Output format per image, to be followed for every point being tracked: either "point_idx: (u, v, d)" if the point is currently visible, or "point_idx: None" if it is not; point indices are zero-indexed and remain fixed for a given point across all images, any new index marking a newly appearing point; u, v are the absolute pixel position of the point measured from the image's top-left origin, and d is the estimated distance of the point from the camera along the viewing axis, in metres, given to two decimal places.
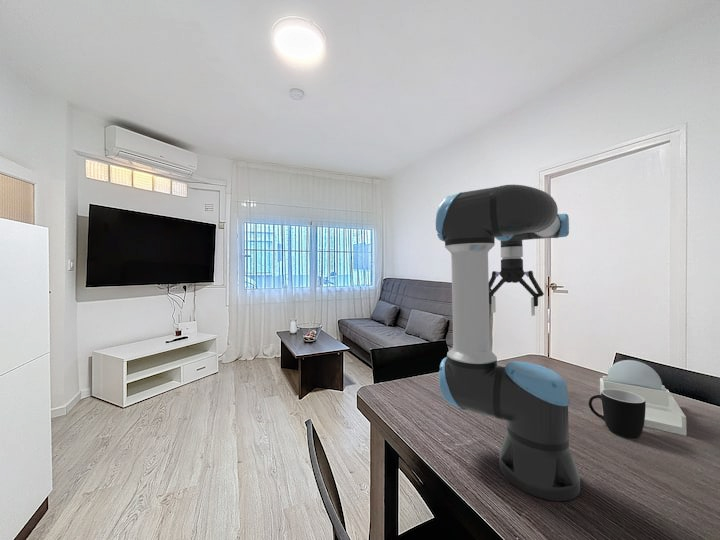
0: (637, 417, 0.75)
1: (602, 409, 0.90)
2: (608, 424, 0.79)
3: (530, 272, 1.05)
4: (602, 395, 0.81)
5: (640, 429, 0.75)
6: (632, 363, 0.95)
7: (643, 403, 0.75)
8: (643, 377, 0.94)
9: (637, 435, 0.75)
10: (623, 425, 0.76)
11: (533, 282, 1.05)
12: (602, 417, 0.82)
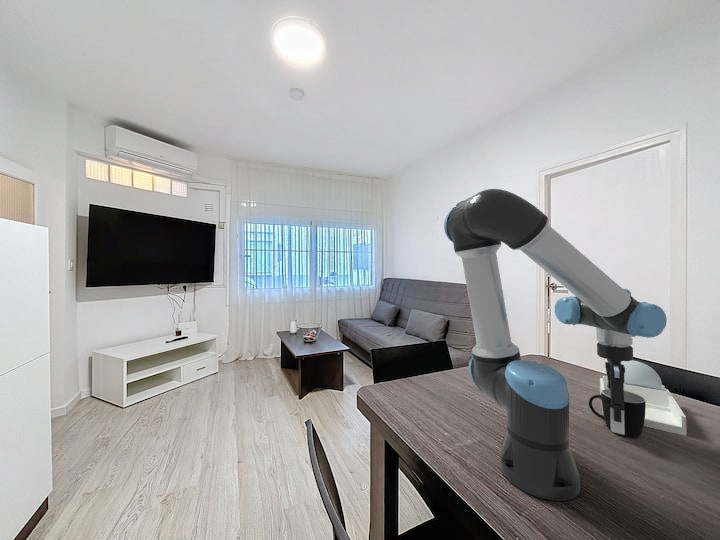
0: (637, 417, 0.75)
1: (602, 409, 0.90)
2: (608, 424, 0.79)
3: (610, 371, 0.76)
4: (602, 395, 0.81)
5: (640, 429, 0.75)
6: (632, 363, 0.95)
7: (643, 403, 0.75)
8: (643, 377, 0.94)
9: (637, 435, 0.75)
10: None
11: (611, 385, 0.76)
12: (602, 417, 0.82)
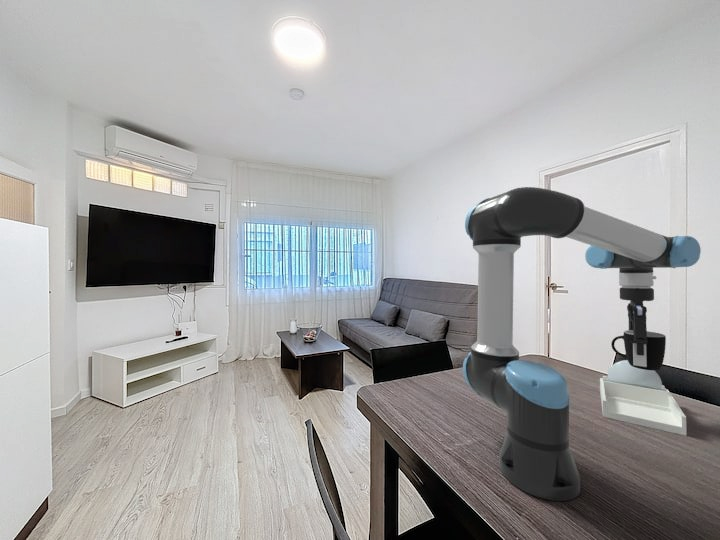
0: (658, 350, 0.82)
1: (602, 409, 0.90)
2: (631, 360, 0.87)
3: (633, 309, 0.83)
4: (625, 334, 0.88)
5: (661, 361, 0.83)
6: None
7: (664, 337, 0.82)
8: (643, 377, 0.94)
9: (658, 367, 0.83)
10: None
11: (634, 323, 0.83)
12: (624, 355, 0.89)
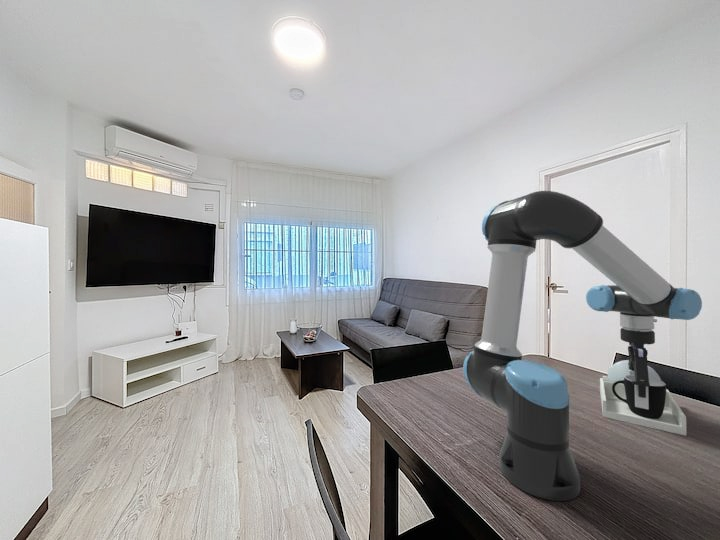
0: (658, 399, 0.82)
1: (602, 409, 0.90)
2: (631, 406, 0.87)
3: (634, 351, 0.83)
4: (625, 380, 0.88)
5: (661, 410, 0.83)
6: None
7: (664, 386, 0.82)
8: None
9: (658, 415, 0.83)
10: None
11: (635, 364, 0.82)
12: (625, 400, 0.90)
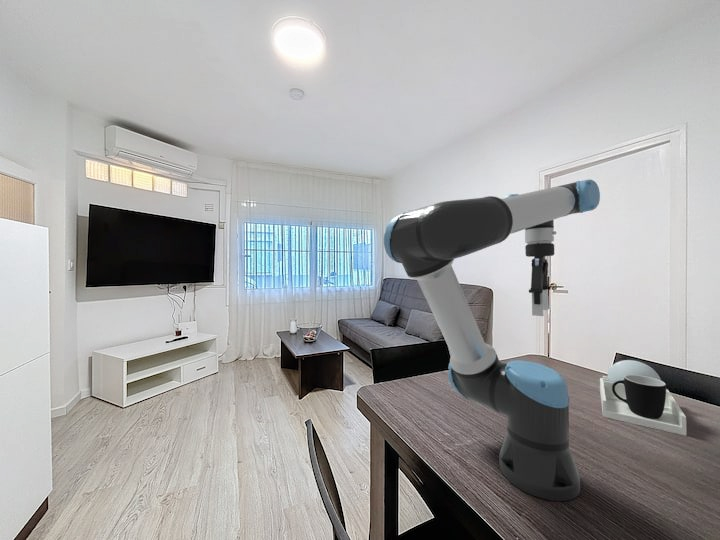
0: (658, 399, 0.82)
1: (602, 409, 0.90)
2: (631, 406, 0.87)
3: (532, 261, 0.84)
4: (625, 380, 0.88)
5: (661, 410, 0.83)
6: (632, 363, 0.95)
7: (664, 386, 0.82)
8: None
9: (658, 415, 0.83)
10: (646, 406, 0.83)
11: (532, 273, 0.83)
12: (625, 400, 0.90)
